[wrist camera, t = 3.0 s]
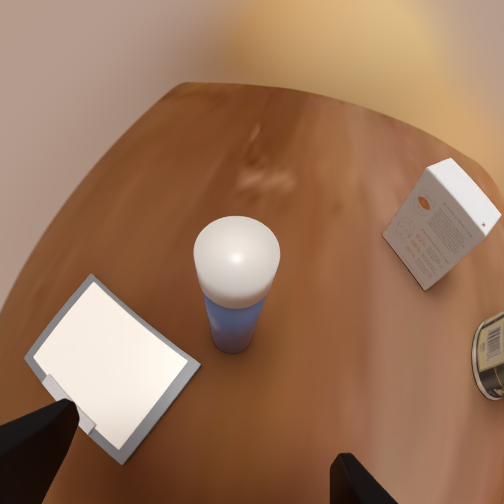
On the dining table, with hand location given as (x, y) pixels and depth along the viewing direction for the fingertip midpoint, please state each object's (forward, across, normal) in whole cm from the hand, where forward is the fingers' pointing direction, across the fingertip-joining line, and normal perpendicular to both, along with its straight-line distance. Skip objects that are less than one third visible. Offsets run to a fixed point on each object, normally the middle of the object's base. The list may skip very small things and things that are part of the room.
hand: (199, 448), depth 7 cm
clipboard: (+11, +10, +8) cm, 17 cm away
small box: (+23, -18, -4) cm, 30 cm away
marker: (+15, 0, +4) cm, 15 cm away
